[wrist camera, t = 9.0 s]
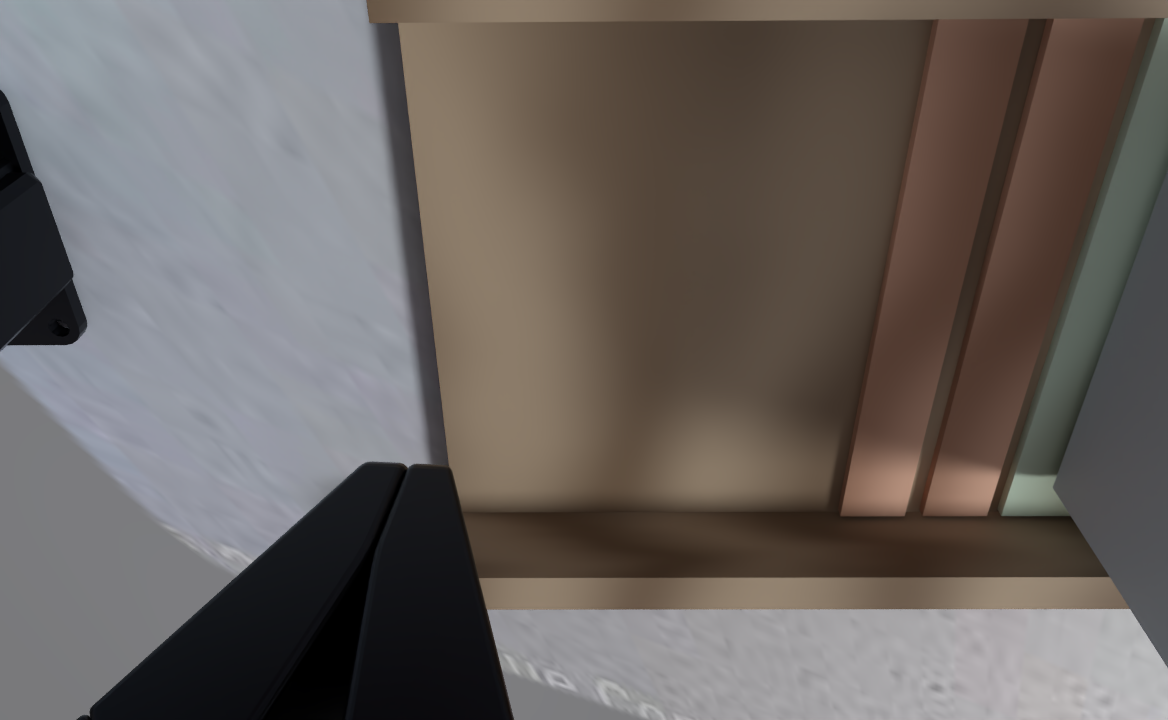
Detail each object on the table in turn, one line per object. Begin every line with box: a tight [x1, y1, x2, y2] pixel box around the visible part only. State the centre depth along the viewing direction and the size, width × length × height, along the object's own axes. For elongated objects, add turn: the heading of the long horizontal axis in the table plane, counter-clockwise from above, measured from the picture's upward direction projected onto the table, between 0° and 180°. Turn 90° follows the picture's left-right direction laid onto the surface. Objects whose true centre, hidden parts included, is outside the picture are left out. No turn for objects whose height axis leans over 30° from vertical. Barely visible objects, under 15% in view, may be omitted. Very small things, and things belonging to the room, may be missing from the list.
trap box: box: [367, 0, 1168, 609], centre depth 20 cm, size 23×16×5 cm
